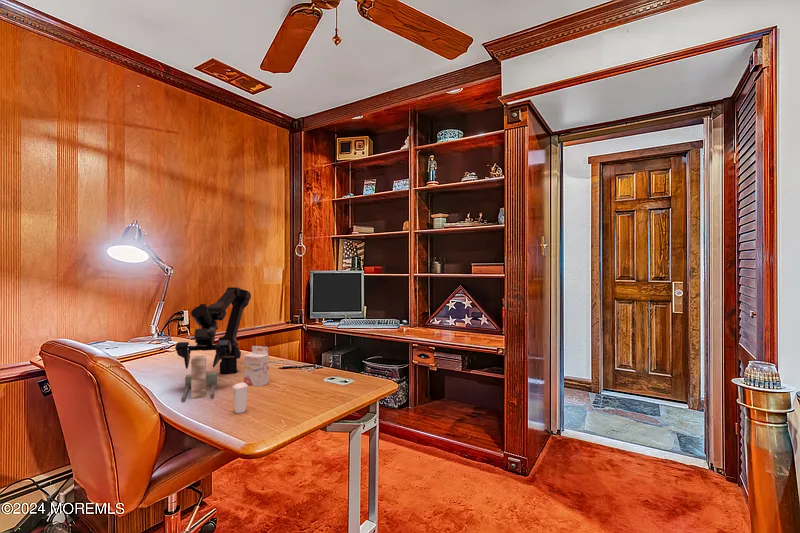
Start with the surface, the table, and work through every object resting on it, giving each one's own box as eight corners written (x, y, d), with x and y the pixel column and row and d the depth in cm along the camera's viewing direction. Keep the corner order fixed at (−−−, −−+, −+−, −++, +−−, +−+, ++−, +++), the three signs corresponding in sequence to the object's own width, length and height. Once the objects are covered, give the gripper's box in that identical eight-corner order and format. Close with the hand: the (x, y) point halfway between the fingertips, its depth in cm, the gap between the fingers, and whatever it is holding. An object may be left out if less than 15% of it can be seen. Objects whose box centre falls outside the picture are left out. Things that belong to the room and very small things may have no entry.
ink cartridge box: (243, 384, 155) (243, 347, 155) (251, 381, 160) (251, 345, 160) (261, 386, 152) (261, 349, 152) (269, 383, 157) (269, 346, 157)
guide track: (216, 381, 160) (216, 371, 160) (215, 398, 139) (215, 386, 139) (186, 385, 155) (186, 374, 155) (179, 402, 135) (179, 390, 135)
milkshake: (232, 409, 128) (232, 378, 128) (249, 409, 128) (249, 378, 128) (228, 414, 123) (227, 383, 123) (245, 414, 124) (245, 382, 124)
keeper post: (206, 393, 145) (206, 355, 145) (205, 397, 141) (205, 357, 141) (192, 395, 143) (192, 356, 143) (191, 398, 139) (191, 359, 139)
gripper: (176, 320, 147) (166, 356, 137) (230, 319, 152) (224, 353, 141) (183, 338, 155) (173, 373, 144) (233, 336, 159) (228, 370, 148)
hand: (200, 367), depth 144 cm, fingers open, 9 cm apart
